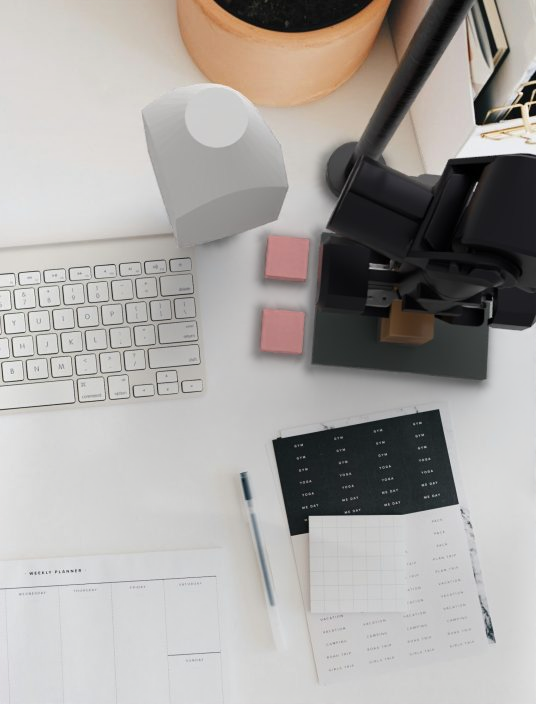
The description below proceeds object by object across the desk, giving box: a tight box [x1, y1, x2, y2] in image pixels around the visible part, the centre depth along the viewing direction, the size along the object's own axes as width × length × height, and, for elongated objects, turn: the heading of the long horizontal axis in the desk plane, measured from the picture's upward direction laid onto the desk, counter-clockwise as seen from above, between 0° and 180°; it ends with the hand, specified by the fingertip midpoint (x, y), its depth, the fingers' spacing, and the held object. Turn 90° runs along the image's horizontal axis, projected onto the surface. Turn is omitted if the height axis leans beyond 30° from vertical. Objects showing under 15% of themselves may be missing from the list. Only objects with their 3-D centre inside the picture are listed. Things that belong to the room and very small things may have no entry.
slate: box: [310, 231, 491, 381], centre depth 72 cm, size 17×13×1 cm
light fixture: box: [140, 82, 290, 249], centre depth 63 cm, size 9×9×20 cm
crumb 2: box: [259, 308, 306, 356], centre depth 72 cm, size 4×4×1 cm
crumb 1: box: [263, 234, 310, 283], centre depth 72 cm, size 4×4×1 cm
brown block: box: [376, 268, 435, 347], centre depth 69 cm, size 4×8×5 cm, turn 175°
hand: (400, 303), depth 71 cm, fingers closed on brown block, 4 cm apart
